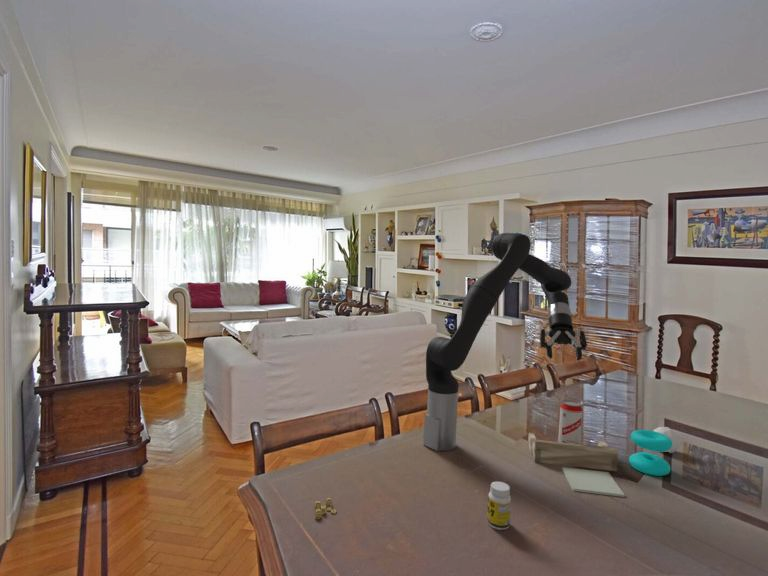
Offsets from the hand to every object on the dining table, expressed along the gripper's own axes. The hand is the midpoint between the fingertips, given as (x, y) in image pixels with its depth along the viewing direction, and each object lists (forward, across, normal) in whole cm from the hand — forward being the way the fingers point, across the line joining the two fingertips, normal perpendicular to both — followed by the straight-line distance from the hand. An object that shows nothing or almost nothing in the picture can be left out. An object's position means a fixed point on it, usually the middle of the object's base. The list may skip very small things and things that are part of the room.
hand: (564, 358), depth 140 cm
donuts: (+30, +21, +8) cm, 38 cm away
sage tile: (+39, +2, -2) cm, 39 cm away
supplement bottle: (+57, -22, -22) cm, 65 cm away
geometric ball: (+20, +30, +19) cm, 41 cm away
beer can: (+28, 0, +9) cm, 30 cm away
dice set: (+61, -60, -26) cm, 89 cm away
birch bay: (+29, 0, +8) cm, 30 cm away
